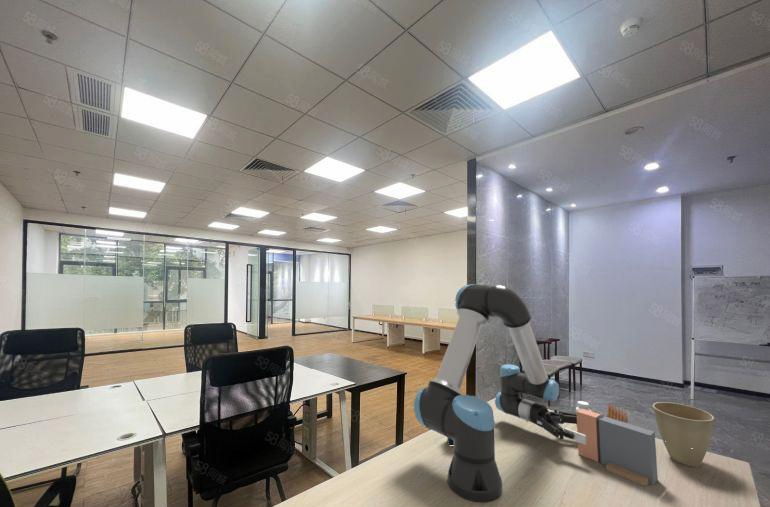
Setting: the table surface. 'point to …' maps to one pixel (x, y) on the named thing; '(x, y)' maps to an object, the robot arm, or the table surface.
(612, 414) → the ammunition clip
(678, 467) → the table surface
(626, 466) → the ticket block
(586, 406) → the supplement bottle
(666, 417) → the plant pot
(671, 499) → the table surface
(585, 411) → the stub
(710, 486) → the table surface
